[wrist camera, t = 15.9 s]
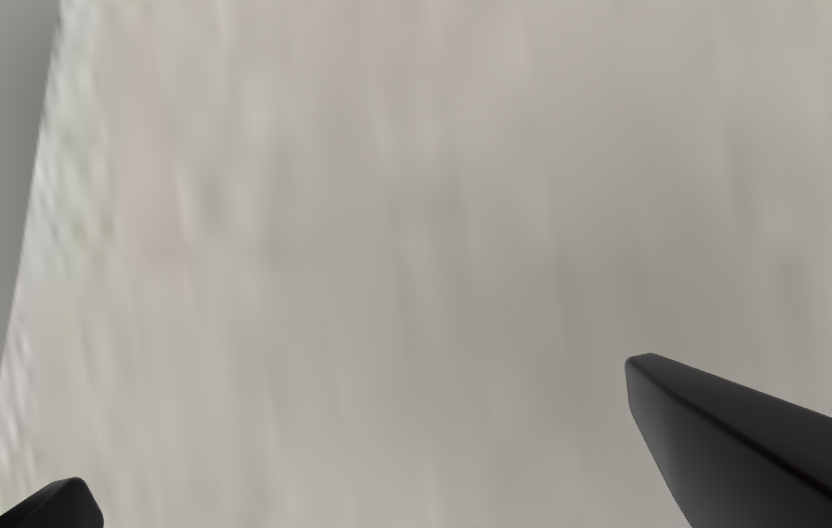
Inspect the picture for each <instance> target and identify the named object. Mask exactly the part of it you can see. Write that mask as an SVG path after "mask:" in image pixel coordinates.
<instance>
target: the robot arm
mask: <svg viewBox="0 0 832 528" xmlns="http://www.w3.org/2000/svg"><path fill="white" fill-rule="evenodd" d="M625 373H626V382H627V392H628V401H629V406H630V410H631V413H632V415H633V418H634V420H635V422H636V424H637V426H638V428H639V430H640V432H641V434H642V436H643V438H644V440H645V442H646V444H647V446H648V448H649V450H650V452H651V454H652V456H653V458H654V460H655V462H656V464H657V466H658V468H659V470H660V472H661V474H662V476H663V478H664V480H665V482H666V484H667V486H668V488H669V490H670V492H671V493H672V495H673V497H674V499H675V501H676V503H677V504H678V506H679V508H680V509H681V511H682V512H683V514H684V516H685V517H686V519H687V520H688V522H689V523H690V525H691V527H692V528H832V418H831V417H829V416H826V415H823V414H820V413H818V412H815V411H812V410H809V409H807V408H804V407H801V406H798V405H796V404H793V403H790V402H787V401H784V400H782V399H779V398H776V397H773V396H771V395H768V394H765V393H762V392H760V391H757V390H754V389H751V388H748V387H746V386H743V385H740V384H737V383H735V382H732V381H729V380H726V379H724V378H721V377H718V376H715V375H712V374H710V373H707V372H704V371H701V370H699V369H696V368H693V367H690V366H688V365H685V364H682V363H679V362H677V361H674V360H671V359H668V358H665V357H663V356H660V355H657V354H654V353H646V354H642V355H637V356H633V357H629V358H628V359H627V360H626V362H625ZM103 526H104V519H103V515H102V512H101V510H100V508H99V506H98V505H97V503H96V501H95V499H94V497H93V495H92V493H91V492H90V490H89V488H88V486H87V484H86V483H85V481H84V480H82V479H81V478H78V477H72V478H68V479H63V480H58V481H54V482H52V483H50V484H48V485H47V486H45V487H44V488H42V489H41V490H39V491H37V492H36V493H34V494H33V495H31V496H30V497H28V498H27V499H25V500H24V501H22V502H21V503H19V504H18V505H16V506H15V507H13V508H12V509H10V510H9V511H7V512H6V513H4V514H2V515H1V516H0V528H103Z"/></svg>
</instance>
